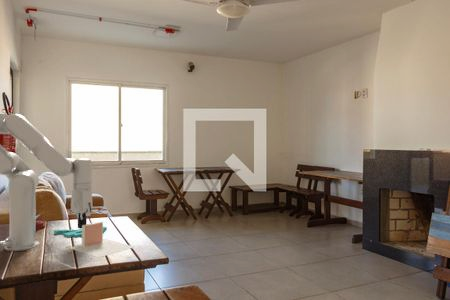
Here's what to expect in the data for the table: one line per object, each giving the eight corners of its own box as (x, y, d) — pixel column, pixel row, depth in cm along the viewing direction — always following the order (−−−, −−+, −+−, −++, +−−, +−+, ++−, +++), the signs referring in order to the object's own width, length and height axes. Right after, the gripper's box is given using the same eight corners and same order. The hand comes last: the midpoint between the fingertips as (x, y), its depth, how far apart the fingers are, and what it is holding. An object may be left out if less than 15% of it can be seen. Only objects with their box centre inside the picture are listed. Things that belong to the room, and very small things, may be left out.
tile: (84, 247, 146) (84, 225, 146) (81, 246, 147) (82, 225, 147) (102, 242, 153) (103, 222, 153) (100, 241, 154) (100, 221, 154)
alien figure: (54, 235, 169) (76, 242, 157) (54, 230, 169) (76, 237, 157) (91, 227, 185) (114, 233, 173) (91, 223, 185) (114, 229, 173)
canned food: (36, 239, 176) (30, 223, 172) (22, 234, 180) (15, 219, 175) (53, 224, 186) (48, 209, 181) (39, 220, 189) (33, 206, 184)
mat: (98, 259, 133) (98, 257, 133) (68, 249, 145) (68, 247, 145) (135, 248, 148) (135, 246, 148) (105, 240, 159) (105, 238, 159)
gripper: (64, 185, 156) (64, 226, 156) (84, 188, 147) (84, 232, 148) (80, 184, 162) (80, 223, 162) (100, 187, 153) (99, 228, 154)
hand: (82, 227), depth 155 cm, fingers closed
